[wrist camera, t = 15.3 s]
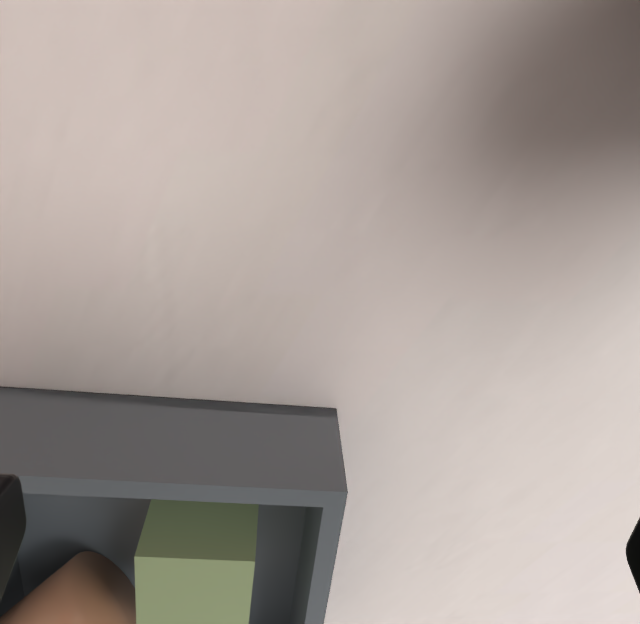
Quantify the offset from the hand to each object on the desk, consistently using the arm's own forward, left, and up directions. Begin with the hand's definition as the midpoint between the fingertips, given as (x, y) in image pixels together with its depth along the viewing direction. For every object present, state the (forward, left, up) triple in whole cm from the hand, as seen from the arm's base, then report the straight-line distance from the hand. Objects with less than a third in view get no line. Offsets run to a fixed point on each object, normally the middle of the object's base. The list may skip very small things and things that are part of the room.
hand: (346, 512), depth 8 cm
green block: (+3, +12, -11) cm, 17 cm away
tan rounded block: (+7, +15, -9) cm, 19 cm away
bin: (+5, +13, -12) cm, 19 cm away
